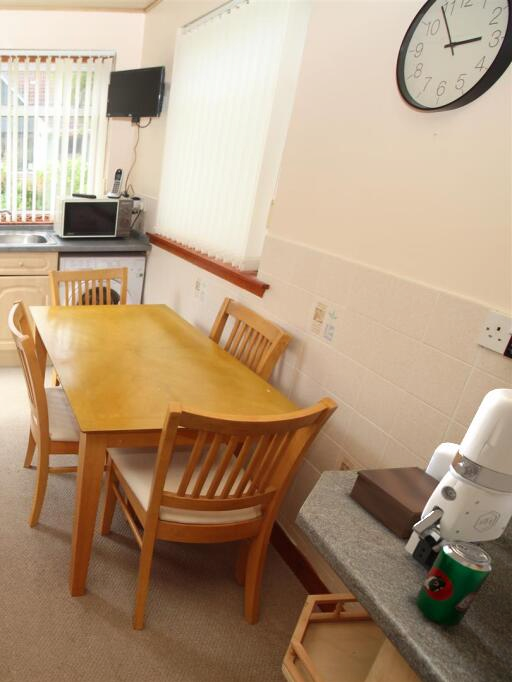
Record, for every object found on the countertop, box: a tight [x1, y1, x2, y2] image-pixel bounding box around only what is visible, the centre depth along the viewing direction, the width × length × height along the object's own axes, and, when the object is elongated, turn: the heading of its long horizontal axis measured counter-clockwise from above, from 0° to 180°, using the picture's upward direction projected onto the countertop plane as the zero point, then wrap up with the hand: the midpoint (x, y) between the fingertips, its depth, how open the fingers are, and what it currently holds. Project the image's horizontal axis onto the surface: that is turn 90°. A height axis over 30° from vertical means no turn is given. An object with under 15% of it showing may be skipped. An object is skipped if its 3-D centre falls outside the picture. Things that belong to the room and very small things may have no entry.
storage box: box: [349, 466, 440, 539], centre depth 88 cm, size 13×11×6 cm
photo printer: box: [425, 442, 461, 482], centre depth 89 cm, size 10×4×12 cm, turn 14°
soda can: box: [414, 540, 493, 627], centre depth 67 cm, size 5×5×12 cm
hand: (437, 561), depth 76 cm, fingers closed on white box, 5 cm apart
